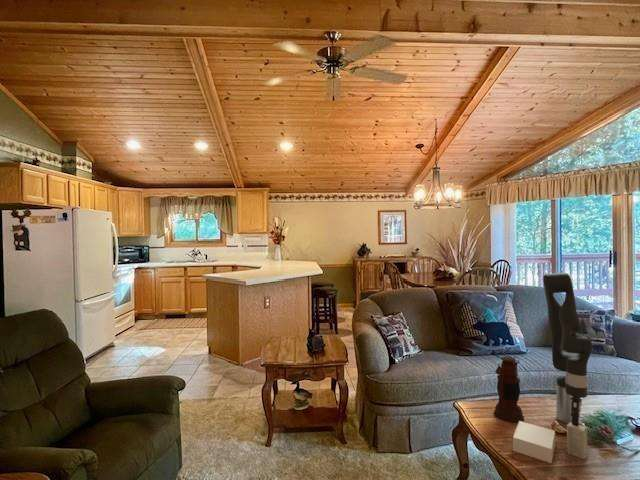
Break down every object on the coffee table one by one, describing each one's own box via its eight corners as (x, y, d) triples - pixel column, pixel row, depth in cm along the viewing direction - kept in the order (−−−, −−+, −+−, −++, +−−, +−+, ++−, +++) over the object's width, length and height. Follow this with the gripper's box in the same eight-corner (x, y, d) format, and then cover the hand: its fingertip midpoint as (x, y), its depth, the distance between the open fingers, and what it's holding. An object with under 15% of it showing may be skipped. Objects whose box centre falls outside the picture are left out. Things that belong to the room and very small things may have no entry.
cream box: (519, 433, 167) (519, 420, 167) (555, 444, 159) (555, 430, 159) (513, 450, 155) (512, 437, 155) (551, 463, 146) (551, 448, 146)
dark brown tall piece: (513, 427, 172) (512, 366, 171) (486, 415, 184) (485, 357, 183) (531, 416, 182) (531, 358, 181) (504, 405, 193) (504, 350, 192)
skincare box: (587, 455, 150) (587, 427, 150) (584, 460, 148) (584, 431, 147) (570, 448, 155) (570, 421, 155) (566, 452, 153) (566, 424, 152)
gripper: (566, 375, 159) (566, 411, 159) (563, 386, 147) (563, 425, 148) (587, 379, 154) (587, 416, 154) (586, 391, 143) (586, 431, 143)
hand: (575, 421), depth 151 cm, fingers open, 8 cm apart
